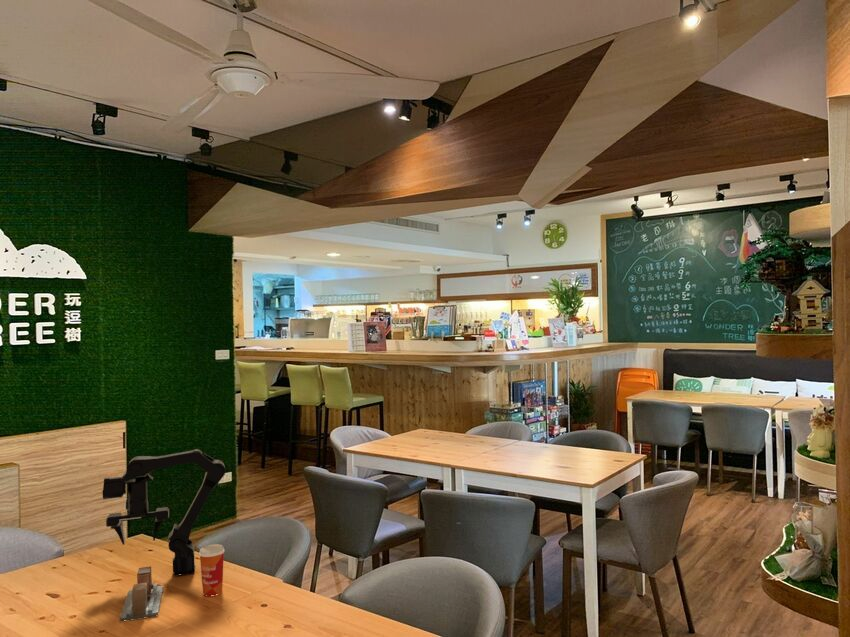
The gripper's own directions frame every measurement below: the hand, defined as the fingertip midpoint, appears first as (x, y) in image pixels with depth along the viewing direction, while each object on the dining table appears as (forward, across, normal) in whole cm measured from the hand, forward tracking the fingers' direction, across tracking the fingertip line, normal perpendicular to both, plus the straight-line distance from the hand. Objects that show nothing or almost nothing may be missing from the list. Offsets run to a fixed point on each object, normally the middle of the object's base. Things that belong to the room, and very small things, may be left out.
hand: (139, 542), depth 205 cm
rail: (+12, -3, +22) cm, 25 cm away
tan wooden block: (+11, -3, +16) cm, 19 cm away
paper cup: (+12, -23, +22) cm, 34 cm away
